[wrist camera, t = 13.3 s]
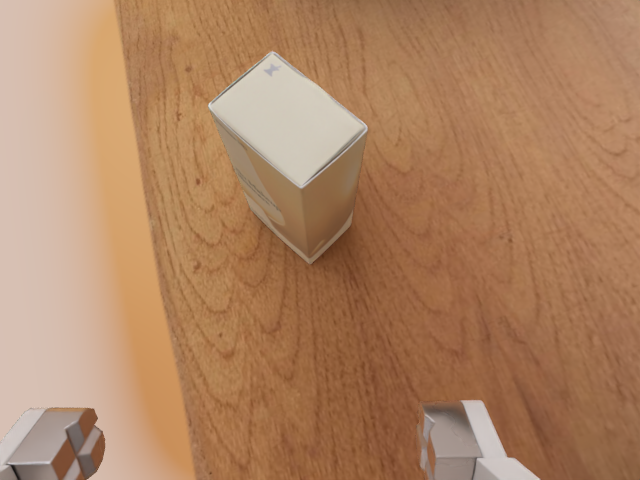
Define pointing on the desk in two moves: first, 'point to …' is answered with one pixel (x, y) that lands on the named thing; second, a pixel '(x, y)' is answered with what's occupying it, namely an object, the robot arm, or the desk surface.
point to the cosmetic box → (292, 153)
